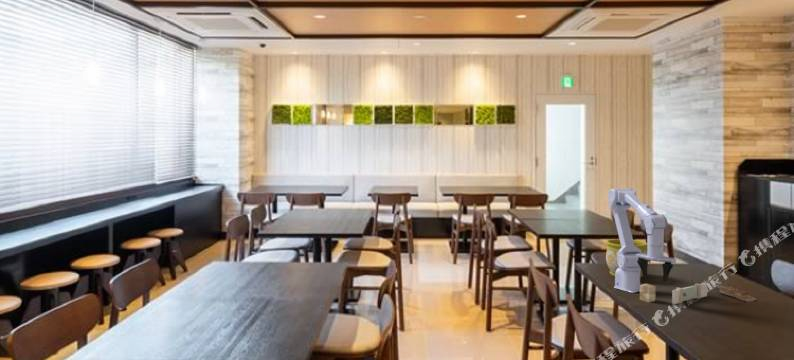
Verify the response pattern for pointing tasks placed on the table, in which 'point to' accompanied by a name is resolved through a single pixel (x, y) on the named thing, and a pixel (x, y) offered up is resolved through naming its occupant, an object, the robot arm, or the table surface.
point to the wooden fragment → (735, 293)
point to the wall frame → (678, 292)
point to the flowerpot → (614, 247)
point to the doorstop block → (647, 292)
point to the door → (689, 293)
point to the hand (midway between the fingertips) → (655, 279)
